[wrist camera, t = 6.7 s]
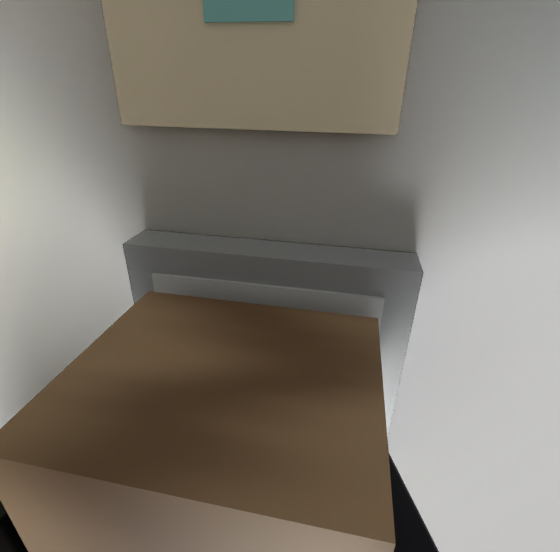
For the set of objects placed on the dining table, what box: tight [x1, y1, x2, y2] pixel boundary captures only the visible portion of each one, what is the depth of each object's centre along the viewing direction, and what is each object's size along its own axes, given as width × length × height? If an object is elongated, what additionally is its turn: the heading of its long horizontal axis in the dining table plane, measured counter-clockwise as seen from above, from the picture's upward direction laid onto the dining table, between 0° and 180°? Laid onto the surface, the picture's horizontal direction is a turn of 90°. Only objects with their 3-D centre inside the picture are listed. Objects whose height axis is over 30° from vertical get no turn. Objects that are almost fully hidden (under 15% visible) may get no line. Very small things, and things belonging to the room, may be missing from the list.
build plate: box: [123, 230, 423, 438], centre depth 12 cm, size 8×8×1 cm
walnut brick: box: [0, 291, 396, 552], centre depth 8 cm, size 6×6×5 cm
